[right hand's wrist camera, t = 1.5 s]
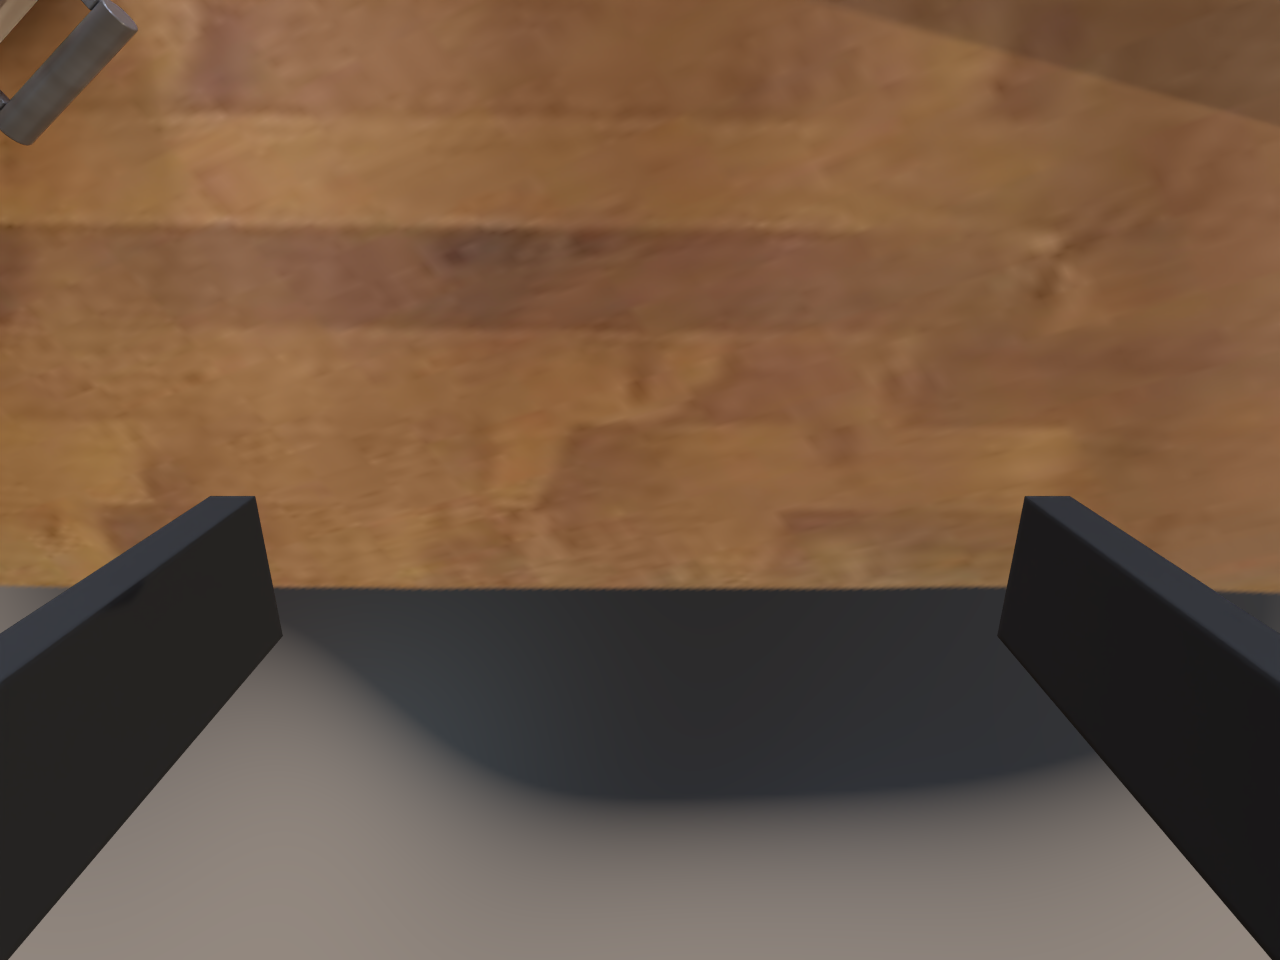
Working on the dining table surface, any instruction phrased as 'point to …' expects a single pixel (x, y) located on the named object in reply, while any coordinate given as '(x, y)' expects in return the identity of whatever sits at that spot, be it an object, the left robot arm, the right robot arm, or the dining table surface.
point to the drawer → (61, 66)
